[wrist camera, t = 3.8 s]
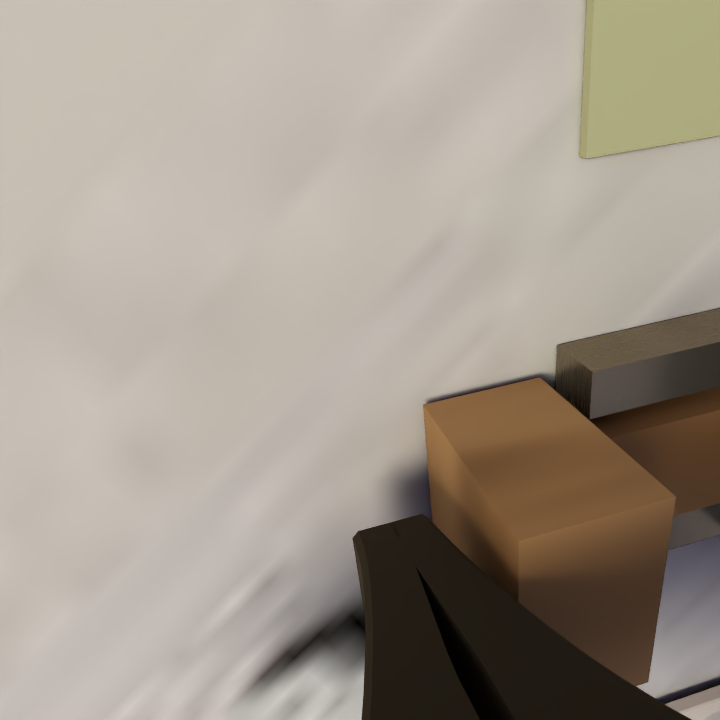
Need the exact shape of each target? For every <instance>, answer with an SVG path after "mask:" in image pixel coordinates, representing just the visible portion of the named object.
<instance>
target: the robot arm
mask: <svg viewBox="0 0 720 720" xmlns="http://www.w3.org/2000/svg"><path fill="white" fill-rule="evenodd" d="M353 544H354V550H355V556H356V562H357V569H358V575H359V581H360V588H361V594H362V600H363V606H364V613H365V632H366V648H365V674H364V696H363V709H362V720H720V685H718V686H715V687H712V688H709V689H707V690H704V691H701V692H698V693H695V694H692V695H689V696H686V697H684V698H681V699H678V700H675V701H672V702H669V703H666V704H663V703H662V702H660V701H658V700H657V699H655V698H653V697H652V696H650V695H649V694H647V693H645V692H644V691H642V690H641V689H639V688H637V687H636V686H634V685H633V684H631V683H629V682H628V681H626V680H625V679H623V678H621V677H620V676H618V675H617V674H615V673H614V672H612V671H611V670H609V669H608V668H606V667H605V666H603V665H602V664H600V663H599V662H597V661H596V660H594V659H593V658H592V657H590V656H589V655H587V654H586V653H584V652H583V651H582V650H580V649H579V648H577V647H576V646H575V645H573V644H572V643H570V642H569V641H568V640H566V639H565V638H564V637H562V636H561V635H560V634H558V633H557V632H556V631H554V630H553V629H552V628H551V627H549V626H548V625H547V624H545V623H544V622H543V621H541V620H540V619H539V618H538V617H536V616H535V615H534V614H532V613H531V612H530V611H529V610H528V609H526V608H525V607H524V606H523V605H521V604H520V603H519V602H518V601H516V600H515V599H514V598H513V597H512V596H511V595H509V594H508V593H507V592H506V591H505V590H504V589H503V588H501V587H500V586H499V585H498V584H497V583H496V582H494V581H493V580H492V579H491V578H490V577H489V576H487V575H486V574H485V573H484V572H483V571H482V570H481V569H480V568H479V567H477V566H476V565H475V564H474V563H473V562H472V561H471V560H470V559H469V558H468V557H467V556H466V555H465V554H464V553H463V552H461V551H460V550H459V549H458V548H457V547H456V546H455V545H454V544H453V543H452V542H451V541H450V540H449V539H448V538H447V537H446V536H445V535H444V534H443V533H442V532H441V531H440V530H439V529H438V528H437V527H436V526H435V524H434V523H433V522H432V521H431V520H430V519H429V518H428V517H426V516H424V515H423V514H421V515H417V516H413V517H410V518H406V519H402V520H398V521H395V522H391V523H387V524H384V525H380V526H376V527H372V528H369V529H365V530H361V531H358V532H357V533H356V535H355V536H354V537H353Z"/></svg>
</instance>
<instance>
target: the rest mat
mask: <svg viewBox="0 0 720 720" xmlns="http://www.w3.org/2000/svg"><path fill="white" fill-rule="evenodd" d="M714 136H720V0H587V7H586V28H585V50H584V71H583V93H582V115H581V136H580V157H582V158H591V157H597V156H603V155H609V154H615V153H621V152H626V151H632V150H638V149H644V148H650V147H656V146H662V145H667V144H673V143H679V142H685V141H691V140H697V139H702V138H708V137H714Z"/></svg>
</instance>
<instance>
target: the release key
mask: <svg viewBox="0 0 720 720" xmlns="http://www.w3.org/2000/svg"><path fill="white" fill-rule="evenodd" d="M423 409H424V422H425V435H426V448H427V460H428V473H429V486H430V499H431V512H432V522H433V523H434V524H435V526H436V527H437V528H438V529H439V530H440V531H441V532H442V533H443V534H444V535H445V536H446V537H447V538H448V539H449V540H450V541H451V542H452V543H453V544H454V545H455V546H456V547H457V548H458V549H459V550H460V551H461V552H463V553H464V554H465V555H466V556H467V557H468V558H469V559H470V560H471V561H472V562H473V563H474V564H475V565H476V566H477V567H479V568H480V569H481V570H482V571H483V572H484V573H485V574H486V575H487V576H489V577H490V578H491V579H492V580H493V581H494V582H496V583H497V584H498V585H499V586H500V587H501V588H503V589H504V590H505V591H506V592H507V593H508V594H509V595H511V596H512V597H513V598H514V599H515V600H516V601H518V602H519V603H520V604H521V605H523V606H524V607H525V608H526V609H528V610H529V611H530V612H531V613H532V614H534V615H535V616H536V617H538V618H539V619H540V620H541V621H543V622H544V623H545V624H547V625H548V626H549V627H551V628H552V629H553V630H554V631H556V632H557V633H558V634H560V635H561V636H562V637H564V638H565V639H566V640H568V641H569V642H570V643H572V644H573V645H575V646H576V647H577V648H579V649H580V650H582V651H583V652H584V653H586V654H587V655H589V656H590V657H592V658H593V659H594V660H596V661H597V662H599V663H600V664H602V665H603V666H605V667H606V668H608V669H609V670H611V671H612V672H614V673H615V674H617V675H618V676H620V677H621V678H623V679H625V680H626V681H628V682H629V683H631V684H633V685H634V686H638V685H641V684H644V683H647V682H648V679H649V673H650V666H651V659H652V653H653V646H654V639H655V633H656V626H657V619H658V613H659V606H660V599H661V593H662V586H663V579H664V573H665V566H666V560H667V553H668V546H669V540H670V533H671V526H672V520H673V516H677V515H680V514H684V513H687V512H691V511H694V510H697V509H701V508H704V507H708V506H711V505H715V504H718V503H720V387H716V388H712V389H708V390H704V391H700V392H696V393H692V394H688V395H684V396H680V397H676V398H672V399H668V400H665V401H661V402H657V403H653V404H649V405H645V406H641V407H637V408H633V409H629V410H625V411H621V412H617V413H613V414H609V415H605V416H601V417H597V418H593V419H588V418H587V417H586V416H585V415H584V414H583V413H582V412H580V411H579V410H578V409H577V408H576V407H575V406H574V405H572V404H571V403H570V402H568V401H567V400H565V399H564V398H563V397H562V396H561V395H560V394H559V393H557V392H556V391H555V390H554V389H553V388H552V387H551V386H549V385H548V384H547V383H546V382H545V381H544V380H543V379H541V378H540V377H539V378H535V379H531V380H527V381H522V382H518V383H514V384H510V385H505V386H501V387H497V388H493V389H488V390H484V391H480V392H476V393H471V394H467V395H463V396H459V397H454V398H450V399H446V400H442V401H437V402H433V403H429V404H424V405H423Z"/></svg>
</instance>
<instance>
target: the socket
mask: <svg viewBox="0 0 720 720" xmlns="http://www.w3.org/2000/svg"><path fill="white" fill-rule="evenodd" d="M716 387H720V308H719V309H715V310H710V311H706V312H702V313H697V314H693V315H688V316H684V317H679V318H675V319H671V320H666V321H662V322H657V323H653V324H649V325H644V326H640V327H635V328H631V329H627V330H622V331H618V332H613V333H609V334H604V335H600V336H596V337H591V338H587V339H582V340H578V341H574V342H569V343H565V344H560V345H557V361H556V389H555V390H556V391H558V392H559V393H560V394H561V395H562V396H563V397H564V398H566V399H567V400H568V401H569V402H570V403H571V404H572V405H574V406H575V407H576V408H577V409H578V410H579V411H580V412H582V413H583V414H584V415H585V416H586V417H587V418H588V419H593V418H597V417H601V416H605V415H609V414H613V413H617V412H621V411H625V410H629V409H633V408H637V407H641V406H645V405H649V404H653V403H657V402H661V401H665V400H668V399H672V398H676V397H680V396H684V395H688V394H692V393H696V392H700V391H704V390H708V389H712V388H716ZM717 535H720V503H718V504H715V505H711V506H708V507H704V508H701V509H697V510H694V511H691V512H687V513H684V514H680V515H677V516H673V520H672V526H671V533H670V540H669V546H668V550H670V549H674V548H677V547H680V546H684V545H687V544H690V543H694V542H697V541H700V540H704V539H707V538H710V537H714V536H717Z"/></svg>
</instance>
